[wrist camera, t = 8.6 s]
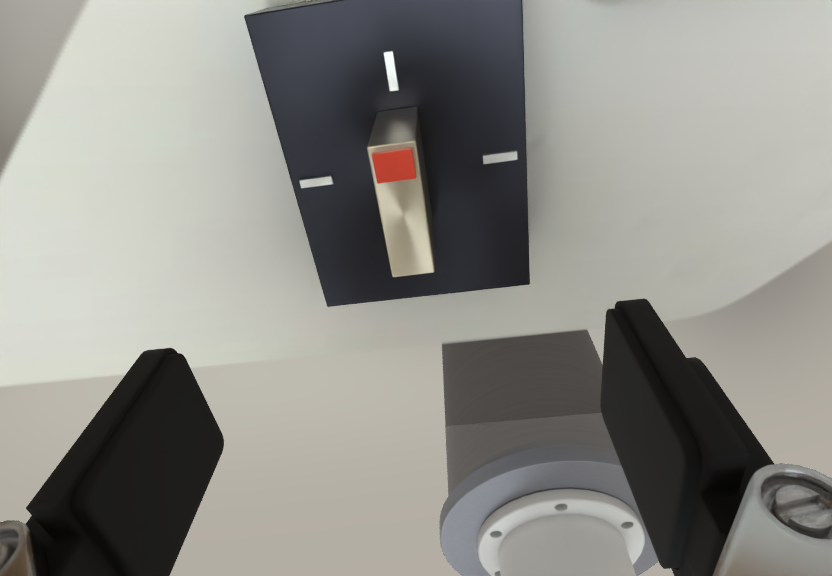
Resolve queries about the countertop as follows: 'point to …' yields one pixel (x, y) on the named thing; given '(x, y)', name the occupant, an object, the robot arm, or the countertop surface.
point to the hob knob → (402, 191)
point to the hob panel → (439, 123)
